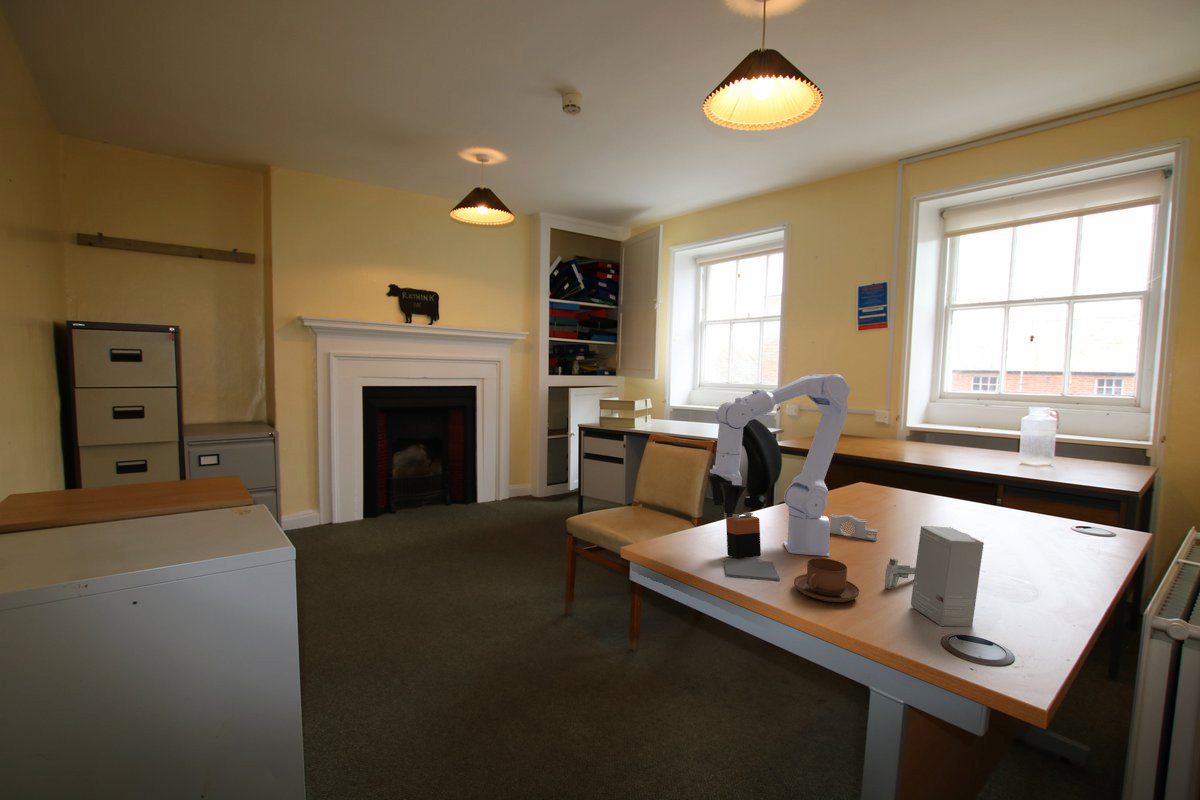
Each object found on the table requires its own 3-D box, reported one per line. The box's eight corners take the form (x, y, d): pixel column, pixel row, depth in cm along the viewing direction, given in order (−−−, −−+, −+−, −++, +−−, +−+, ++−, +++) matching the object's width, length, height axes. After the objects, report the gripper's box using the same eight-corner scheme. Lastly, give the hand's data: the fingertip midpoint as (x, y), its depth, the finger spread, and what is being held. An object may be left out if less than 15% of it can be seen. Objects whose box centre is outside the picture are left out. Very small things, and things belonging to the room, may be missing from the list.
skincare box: (909, 606, 103) (914, 524, 102) (945, 606, 103) (950, 524, 102) (941, 628, 94) (946, 539, 93) (979, 627, 95) (985, 538, 94)
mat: (772, 564, 124) (772, 561, 124) (779, 580, 114) (780, 578, 114) (723, 560, 125) (723, 558, 125) (726, 576, 116) (726, 574, 116)
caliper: (889, 591, 110) (891, 561, 110) (884, 589, 111) (885, 559, 111) (941, 573, 121) (943, 545, 121) (936, 571, 122) (938, 544, 122)
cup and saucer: (854, 613, 100) (856, 581, 99) (787, 597, 106) (788, 567, 106) (862, 591, 110) (863, 561, 109) (800, 578, 116) (801, 550, 116)
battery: (761, 556, 127) (760, 513, 127) (737, 559, 124) (735, 515, 125) (750, 553, 131) (748, 511, 131) (726, 555, 128) (725, 513, 129)
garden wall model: (878, 540, 144) (879, 518, 143) (877, 542, 142) (878, 520, 142) (830, 531, 150) (831, 511, 150) (828, 533, 149) (829, 512, 149)
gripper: (703, 447, 135) (698, 500, 136) (722, 456, 121) (717, 516, 122) (730, 449, 136) (724, 502, 137) (752, 458, 122) (747, 517, 122)
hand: (723, 508), depth 129 cm, fingers open, 7 cm apart
